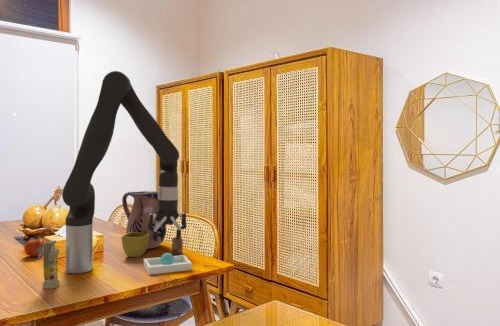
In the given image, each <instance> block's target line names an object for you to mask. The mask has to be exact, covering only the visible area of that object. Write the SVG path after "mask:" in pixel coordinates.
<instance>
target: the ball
mask: <svg viewBox="0 0 500 326" xmlns="http://www.w3.org/2000/svg"><path fill="white" fill-rule="evenodd" d="M173 262H174V257H173V255H172V253H169V252H165V253H163V254H162V255H161V263H162V264H163V265H171V264H173Z"/></svg>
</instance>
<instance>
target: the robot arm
mask: <svg viewBox="0 0 500 326" xmlns="http://www.w3.org/2000/svg"><path fill="white" fill-rule="evenodd" d="M96 103H97V104H96V106H95V108H94V111H93V113H92V115H91V117H90V120H89V122H88V124H87V127H86V129H85V131H84V135H83V137H82V141H81V144H80V147H79V149H78V152H77V156H76V159H75V162H74V165H73V167H72V170H71V172H70V175H69V176H68V178H67V180H66V182H65V184H64V186H63V188H62V192H61V194H62V197H61V198H62V200H63V203H64V204H65V205H66V206H68V207H69V211H68V212H67V215H66V217H65V274H83V273H84V274H85V273H87V272H91V271H93V268H94V267H93V265H94V262H93V261H94V260H93V259H94V256H93V255H94V253H93V252H94V247H93V245H94V242H93V241H94V240H93V239H94V237H93V235H94V234H93V228H94V225H93V223H94V222H93V221H94V216H95V210H96V209H95V205H96V193H95V192H96V191H95V188H94V185H93V184H92V183H91V181H92V178H93V176H94V173H95V171H96V169H97V168H98V166H99V165H100V164H101V162H102V160H103V159H104V157H105V156H106V154H107V151H108V149H109V148H110V147H109V146H110V144H111V142H112V139H113V135H114V129H115V125H116V119H117V113H118V111H119V108H120V106H122V107H123V108H124V110H126V112H127V113H128V114H129V117H130V118H131V119H132V121H133V123H134V125H135V126H136V128H137V129H138V130H139V132H140V134H141V135H142V136H143V138H144V139H145V140H146V141H147V142H148V144H149V145H150V146H151V147H152V148H153V149H154V152H155V153H156V154H157V156H158V157H159V175H158V176H159V177H158V189H157V193H158V211H157V214H151V213H150V214H149V217H148V229H149V230H151V231H153V233H152V238H153V240H154V241H157V230H158V228H159V227H160V226H161V225H166V226H168V225H169V226H172V225H174V226H175V227H176V231H175V232H176V234H175V237H176V240H179V239H180V238H181V237H182V230H184V229H185V230H186V229H187V214H186V213H185V212H184V211H183V212H179V211H178V209H179V208H178V207H179V187H178V186H179V183H178V182H179V174H178V163H179V162H178V161H179V158H180V152H179V150H178V149H177V147H176V146H175V144H174V143H173V142H172V140H170V139H169V137H167V135H166V133H165V131H164V130H163V128H162V127H161V126H160V124H159V123H158V122H157V120H156V119H155V118H154V117H153V115H152V114H151V113H150V111H148V109H147V108H146V107H145V105H144V104H143V103H142V102H141V100H140V98H139V96H138V95H137V93H136V91H135V89H134V87H133V85H132V83H131V80H130V78H129V77H128V76H127V75H126V74H125V73H123V72H122V71H118V70H112V71H109V72H108V73H107V74H106V75H105V76H104V77H103V79H102V82H101V86H100V91H99V96H98V100H97V102H96ZM155 217H157V219H158V221H157V222H156V224H155V226H154V227H152V223H153V220H154V219H155ZM178 218H180V220H181V221H180V222H181V225H180V224H179V223H178V221H177V220H178Z"/></svg>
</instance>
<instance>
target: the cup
mask: <svg viewBox="0 0 500 326" xmlns="http://www.w3.org/2000/svg"><path fill="white" fill-rule="evenodd" d="M183 241H184V239H183V236H181V238H180V239H179V240H176V236H175V237H172V238H171V254H172V255H173V256H179V255H185V253H184V252H183V249H184V248H183V245H184V242H183Z"/></svg>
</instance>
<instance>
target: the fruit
mask: <svg viewBox="0 0 500 326" xmlns="http://www.w3.org/2000/svg"><path fill="white" fill-rule="evenodd" d="M43 244H44V243H43V242H42V241H41V240H40V239H36V237H33V238H32V239H30V240H28V241H27V242H25V245H24V253H25V255H28V256H29V257H31V258H35V257H38V254H39V252H40V251H39V252H37V251H36V250H37V249H38V248H39V247H41V246H42V245H43ZM42 248H43V249H44V247H42ZM39 250H42V249H39ZM41 254H42V251H41Z"/></svg>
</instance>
